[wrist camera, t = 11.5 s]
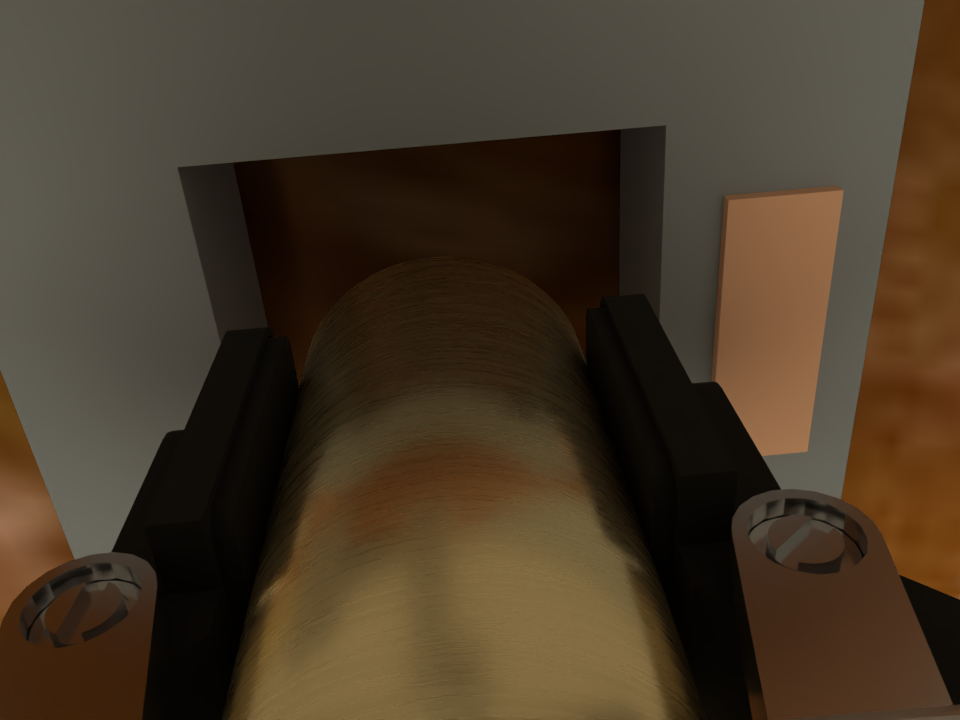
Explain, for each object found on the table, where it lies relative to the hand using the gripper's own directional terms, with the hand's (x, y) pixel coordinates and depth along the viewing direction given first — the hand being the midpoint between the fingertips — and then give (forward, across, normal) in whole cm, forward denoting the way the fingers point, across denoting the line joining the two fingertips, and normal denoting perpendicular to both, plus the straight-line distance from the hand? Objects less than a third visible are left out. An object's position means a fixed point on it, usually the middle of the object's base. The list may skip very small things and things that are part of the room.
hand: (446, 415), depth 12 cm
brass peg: (+1, 0, 0) cm, 1 cm away
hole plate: (+5, 0, 0) cm, 5 cm away
